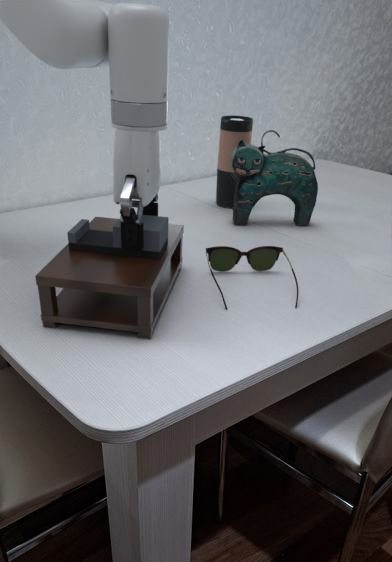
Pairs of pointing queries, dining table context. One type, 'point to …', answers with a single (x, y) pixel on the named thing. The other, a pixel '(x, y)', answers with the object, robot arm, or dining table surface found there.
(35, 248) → the dining table surface
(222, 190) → the travel mug
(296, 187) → the ceramic cat
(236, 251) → the sunglasses
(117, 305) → the coffee table
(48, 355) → the dining table surface
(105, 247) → the dark grey stepped block
